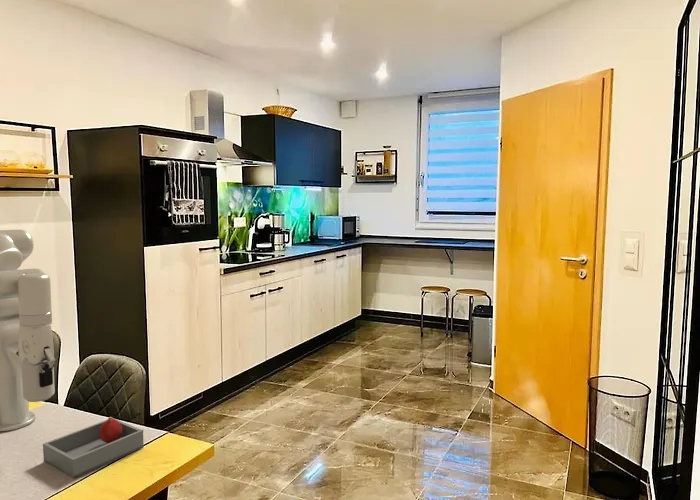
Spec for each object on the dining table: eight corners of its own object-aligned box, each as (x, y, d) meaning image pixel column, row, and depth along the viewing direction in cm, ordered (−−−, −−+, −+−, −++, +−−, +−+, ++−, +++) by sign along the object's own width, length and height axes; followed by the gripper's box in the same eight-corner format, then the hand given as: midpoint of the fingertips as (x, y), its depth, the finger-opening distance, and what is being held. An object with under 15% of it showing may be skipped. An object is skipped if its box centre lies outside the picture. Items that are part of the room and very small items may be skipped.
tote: (43, 462, 137) (42, 443, 136) (113, 433, 153) (112, 417, 152) (73, 479, 129) (73, 459, 128) (143, 447, 145) (143, 430, 144)
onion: (100, 441, 147) (99, 414, 146) (123, 437, 149) (122, 411, 148) (99, 450, 141) (98, 422, 140) (122, 447, 143) (121, 419, 143)
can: (40, 404, 138) (38, 361, 136) (16, 401, 139) (14, 358, 138) (61, 393, 145) (59, 352, 144) (38, 391, 147) (36, 349, 145)
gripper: (5, 316, 141) (8, 379, 143) (37, 327, 132) (40, 394, 134) (34, 311, 147) (36, 371, 149) (67, 321, 138) (69, 385, 140)
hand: (38, 381), depth 142 cm, fingers closed on can, 7 cm apart
